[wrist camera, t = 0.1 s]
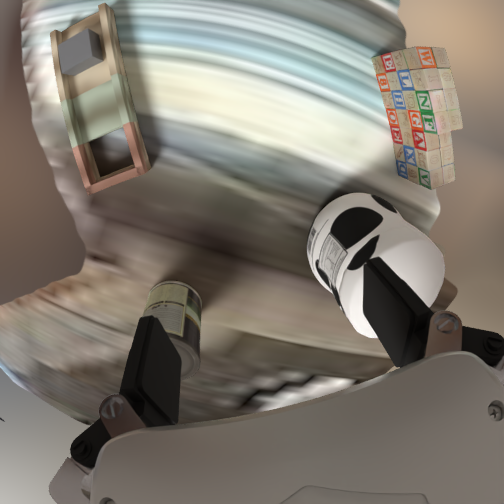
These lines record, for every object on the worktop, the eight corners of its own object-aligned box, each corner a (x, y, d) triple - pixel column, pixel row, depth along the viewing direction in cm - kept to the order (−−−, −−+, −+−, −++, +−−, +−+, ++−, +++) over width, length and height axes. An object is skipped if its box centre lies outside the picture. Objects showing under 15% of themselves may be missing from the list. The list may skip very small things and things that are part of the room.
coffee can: (213, 298, 49) (214, 357, 37) (183, 331, 52) (179, 388, 40) (164, 269, 45) (149, 325, 33) (138, 306, 48) (121, 363, 36)
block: (70, 49, 24) (57, 45, 21) (98, 34, 24) (87, 28, 21) (74, 75, 27) (61, 73, 23) (103, 61, 27) (92, 56, 23)
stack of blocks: (422, 167, 42) (468, 187, 31) (397, 175, 42) (442, 197, 31) (398, 55, 32) (446, 47, 21) (369, 57, 32) (416, 45, 21)
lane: (62, 37, 24) (50, 32, 20) (113, 10, 24) (104, 2, 20) (98, 188, 37) (88, 195, 34) (151, 168, 37) (144, 173, 34)
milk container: (396, 248, 49) (451, 301, 33) (322, 291, 51) (359, 361, 36) (372, 169, 41) (445, 205, 25) (283, 218, 43) (321, 281, 28)
